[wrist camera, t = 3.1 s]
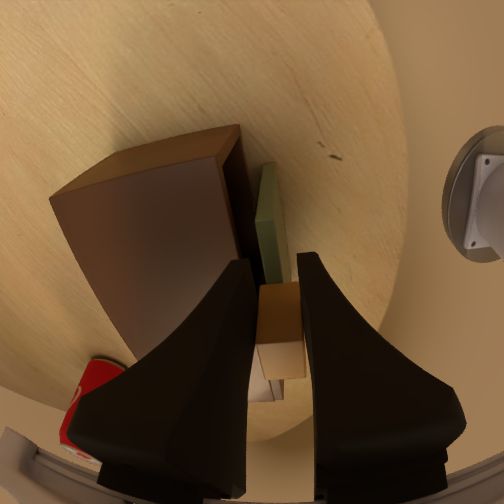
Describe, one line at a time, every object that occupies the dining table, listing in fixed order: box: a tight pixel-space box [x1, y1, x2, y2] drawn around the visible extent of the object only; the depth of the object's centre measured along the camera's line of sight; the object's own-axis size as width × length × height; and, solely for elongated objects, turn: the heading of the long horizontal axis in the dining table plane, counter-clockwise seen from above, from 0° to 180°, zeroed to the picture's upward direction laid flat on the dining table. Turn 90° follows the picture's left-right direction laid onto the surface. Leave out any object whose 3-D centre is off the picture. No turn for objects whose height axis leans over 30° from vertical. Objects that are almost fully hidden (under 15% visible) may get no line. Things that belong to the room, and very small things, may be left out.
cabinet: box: [49, 124, 284, 402], centre depth 17 cm, size 9×16×7 cm, turn 10°
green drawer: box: [255, 162, 306, 380], centre depth 14 cm, size 2×8×10 cm, turn 10°
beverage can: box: [59, 359, 126, 466], centre depth 26 cm, size 6×6×12 cm
